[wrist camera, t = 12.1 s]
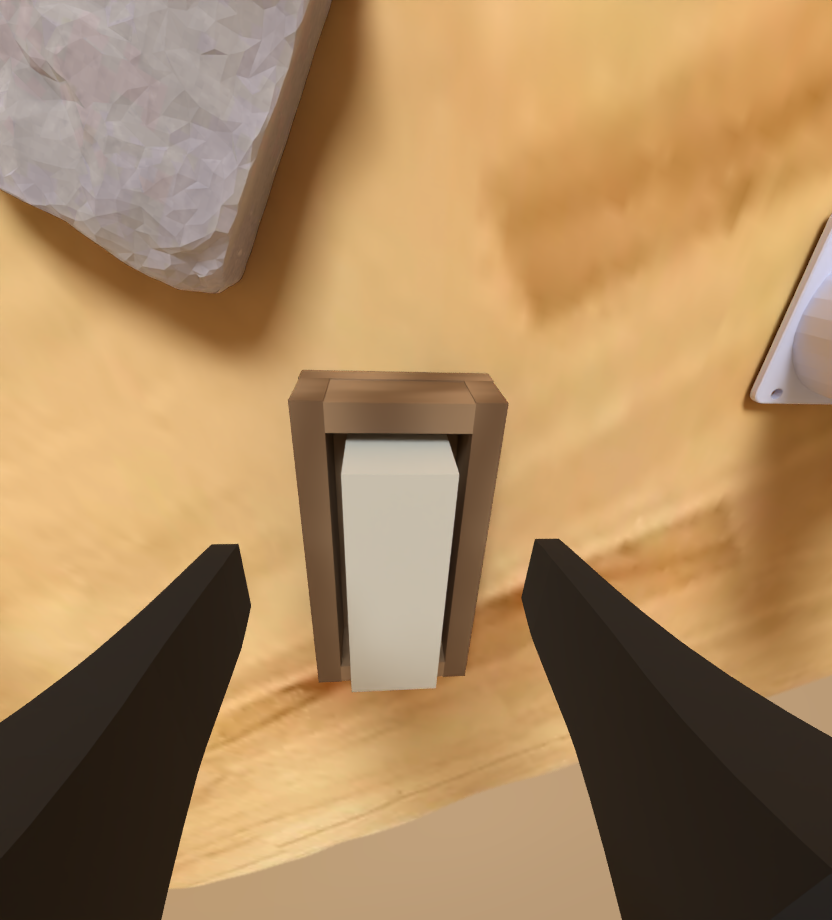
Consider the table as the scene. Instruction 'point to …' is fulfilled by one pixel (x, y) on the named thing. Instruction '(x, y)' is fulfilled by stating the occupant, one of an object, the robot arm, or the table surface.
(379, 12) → the table surface
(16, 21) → the stone block
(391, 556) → the rectangular block
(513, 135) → the table surface
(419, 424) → the shallow brown tray
